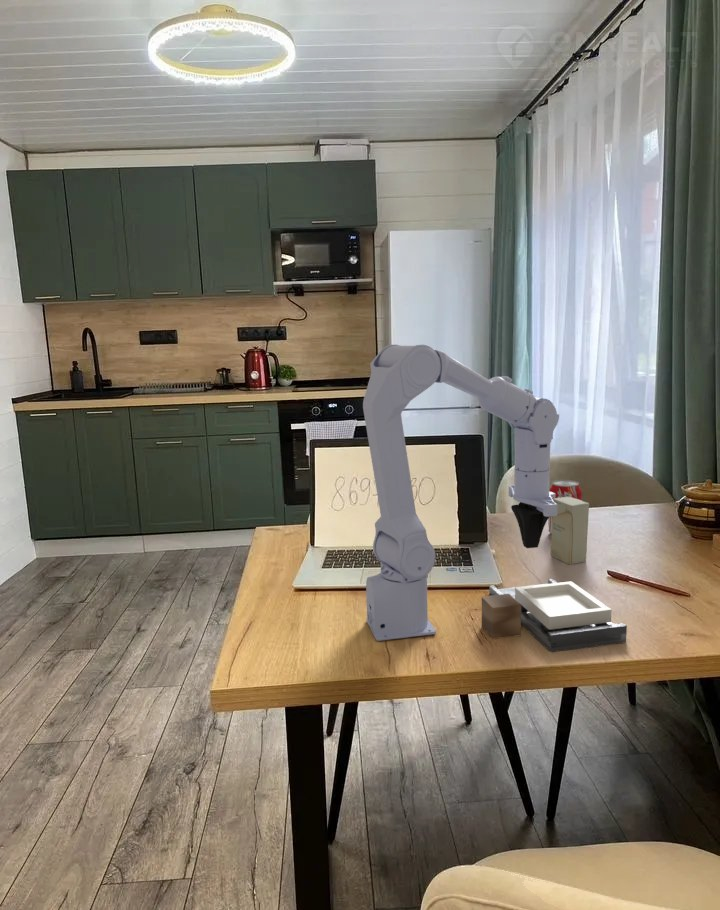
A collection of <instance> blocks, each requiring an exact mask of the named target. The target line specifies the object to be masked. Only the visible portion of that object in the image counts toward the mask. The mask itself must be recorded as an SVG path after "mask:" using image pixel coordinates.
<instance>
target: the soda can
mask: <svg viewBox="0 0 720 910" xmlns="http://www.w3.org/2000/svg"><path fill="white" fill-rule="evenodd" d="M551 484H552V485H551V486H550V487H549V492H553V493H555V498H561V497H569V496H570V497H573V498H576V499H579V500H582V501H583V499H582V498H583V496H582V494H583V492H582V488H581V487H580V482H579V481H577V480H572V479H571V480H570V479H557V480H553V481H551ZM552 499H553V498H552ZM547 522H548V523H547V524H548V533H550V534H552V516H550V517H549V518H548V520H547Z"/></svg>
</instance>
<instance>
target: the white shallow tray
mask: <svg viewBox="0 0 720 910" xmlns="http://www.w3.org/2000/svg"><path fill="white" fill-rule="evenodd" d="M532 585H533V586H530V585H523V586H524V587H521V586H514V587H515V599H516V600H517V601H518V602H519V603H520V604H521V611H522V612H523V613H524V612H530V613H531V614H532V615H533V616H534V617H536V618H537V619H538V620H539V621H540V622H541V623H542V624H541V627H542V630H543V631H544V632H545V633H546V634H548V632H553V629H560V628H568V627H576V626H584V625H592V624H595V626H602V625H605V624H606V623H608V622H612V608H610V607H608V606H607V605H606V604H604V603H603V602H601V601H600V600H599V599H597V598H596V597H594V596H593V595H592V594H591V593H589V592H588V591H586V590H584V589H583V588H582V587H580V586H579V585H577V584H576V583H574V582H573V581H570V580H569V581H563V582H557V583H551V584H548V583H542V585H539V584H532Z"/></svg>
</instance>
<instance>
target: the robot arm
mask: <svg viewBox="0 0 720 910" xmlns="http://www.w3.org/2000/svg"><path fill="white" fill-rule="evenodd" d="M369 364H370V365H369V366H370V377H369V380H368V384H367V386H366V390H365V394H364V397H363V402H362V409H363V410H362V411H363V415H364V417H363V418H364V421H365V428H366V429H365V430H366V434H367V440H368V446H369V451H370V459H371V463H372V471H373V477H374V483H375V490H376V494H377V500H378V507H379V508H378V509H379V513H380V517H379V518H378V519H377V520H376V521H375V522H374V528H375V536H374V539H373V544H372V550H373V553H374V555H375V558H376V559H377V560H378V561H380V573H378V574H375V575H371V576H368V577H367V578H366V581H365V591H366V593H365V596H366V622H367V625H368V627H369V629H370V630H371V633H372V634H373V637H374V639H375V640H376V641H379V642H380V641H387V640H397V639H405V638H413V637H421V636H430V635H435V634H437V629H436V628H435V627H434V626H433V624H432V622H431V621H430V620H429V619H428V612H429V611H428V577H429V574H430V572H431V571H432V569H433V568H434V565H435V563H436V550H435V548H434V547H433V545H432V544H431V542H430V541H429V538H428V534H427V529H426V527H425V526H424V524H423V523H422V521H421V520H420V518H419V516H418V514H417V511H416V505H415V498H414V491H413V485H412V478H411V471H410V465H409V459H408V452H407V446H406V438H405V432H404V426H403V420H402V412H403V411H405V409H406V408H407V406H408V405H409V403H410V402H411V401H413V400H414V399H415V398H416V397H418V396H419V395H421V394H423V393H424V392H425V391H426V390H428V389H429V388H431V387H432V386H433V385H434V384H435V383H438V384H442V383H444V384H445V385H446V384H447V385H449V386H450V387H453V388H455V389H458V390H460V391H461V392H464V393H466V394H468V395H470V396H473V397H475V398H477V399H478V400H477V401H478V405H479V406H480V408H481V410H484V411H486V412H488V413H489V414H492V415H493V416H495V417H498V418H499V419H502V420H503V421H505V422H507V423H508V424H509V427H511V428H512V429H514V483H513V485H508V497H510V498H512V499H513V501H516V502H519V503H518V504H513V505H511V508H510V509H511V511H512V512H513V514H514V517H515V518H516V521H517V524H518V527H519V531H520V536H521V541H522V546H523V547H524V548H526V549H535V548H538V547H539V544H540V541H541V537H542V535H543V530H544V528H545V526H546V525H547V522H548V518H549V517H550V516H557V504H556V503H555V502H554V501H553V499H552V498H555V493H553V492H549V489H550V478H551V477H550V475H551V474H550V473H551V465H550V464H551V443H552V440H554V439H553V438H554V437H553V436H554V431H555V428H556V427H557V425H558V423H559V420H560V414H559V413H557V408H556V406H555V405H554V403H553V402H552V401H551V400H550V399H548V398H543V397H535V395H533V394H534V392H533V391H532V390H531V389H528V388H525V389H523V388H521V387H519V386H517V385H516V384H514V383H513V379H512V378H511V377H509V376H507V375H506V376H505V375H502V376H493V377H491V378H489V379H488V378H486V377H485V376H483V375H481V374H479V372H476V370H475V371H474V370H473V369H471V368H470V367H468V366H466V365H465V364H463V363H461V362H460V361H458V360H456V359H454V358H453V357H451V356H450V355H448V354H447V353H445V352H444V351H442V350H438V349H434V348H433V347H432V346H430V345H426V344H415V345H401V344H400V345H399V344H389V345H387V346H384V347H383V348H382V349H381V350H380V351H379V352H378V353H377V355H376V356H375V357H374V358H373V360H372V361H371V362H370V363H369Z"/></svg>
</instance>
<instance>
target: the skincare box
mask: <svg viewBox="0 0 720 910" xmlns="http://www.w3.org/2000/svg"><path fill="white" fill-rule="evenodd" d="M553 501H554V502H555V503H556V504H557V516H552V533H551V534H550V535H551V539H550V556H552V557H553V558H555V559H557V560H559V561H561V562H563V563H565V564H566V565H574V564H579V563H585V562H587V547H588V546H587V545H588V529H589V514H590V513H589V512H590V503H589V502H586V501H584V500H583V499H582V500H579V499H576V498H573V497H570V496H569V497H561V498H553Z"/></svg>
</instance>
